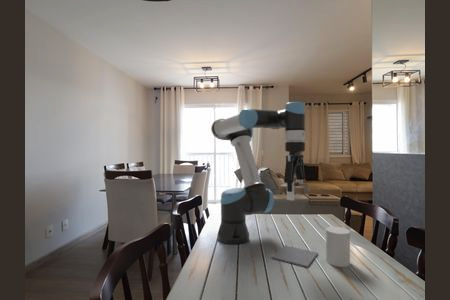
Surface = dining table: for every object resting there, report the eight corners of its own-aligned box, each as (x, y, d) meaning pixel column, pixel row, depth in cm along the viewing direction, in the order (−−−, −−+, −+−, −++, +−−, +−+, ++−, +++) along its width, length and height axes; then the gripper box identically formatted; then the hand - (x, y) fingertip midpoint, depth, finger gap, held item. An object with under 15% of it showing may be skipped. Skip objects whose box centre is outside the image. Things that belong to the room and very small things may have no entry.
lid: (278, 192, 99) (278, 182, 99) (287, 188, 108) (287, 179, 108) (303, 194, 94) (303, 184, 94) (311, 190, 102) (311, 181, 102)
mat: (271, 258, 99) (271, 256, 99) (284, 246, 110) (284, 245, 110) (307, 267, 91) (307, 266, 91) (317, 254, 103) (317, 252, 103)
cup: (352, 267, 91) (352, 234, 91) (328, 265, 92) (328, 233, 92) (346, 258, 99) (346, 227, 99) (324, 256, 100) (324, 226, 100)
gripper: (294, 140, 89) (294, 204, 89) (312, 141, 108) (312, 194, 108) (274, 141, 93) (274, 201, 93) (295, 142, 112) (295, 192, 112)
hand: (295, 197), depth 101 cm, fingers closed on lid, 10 cm apart
